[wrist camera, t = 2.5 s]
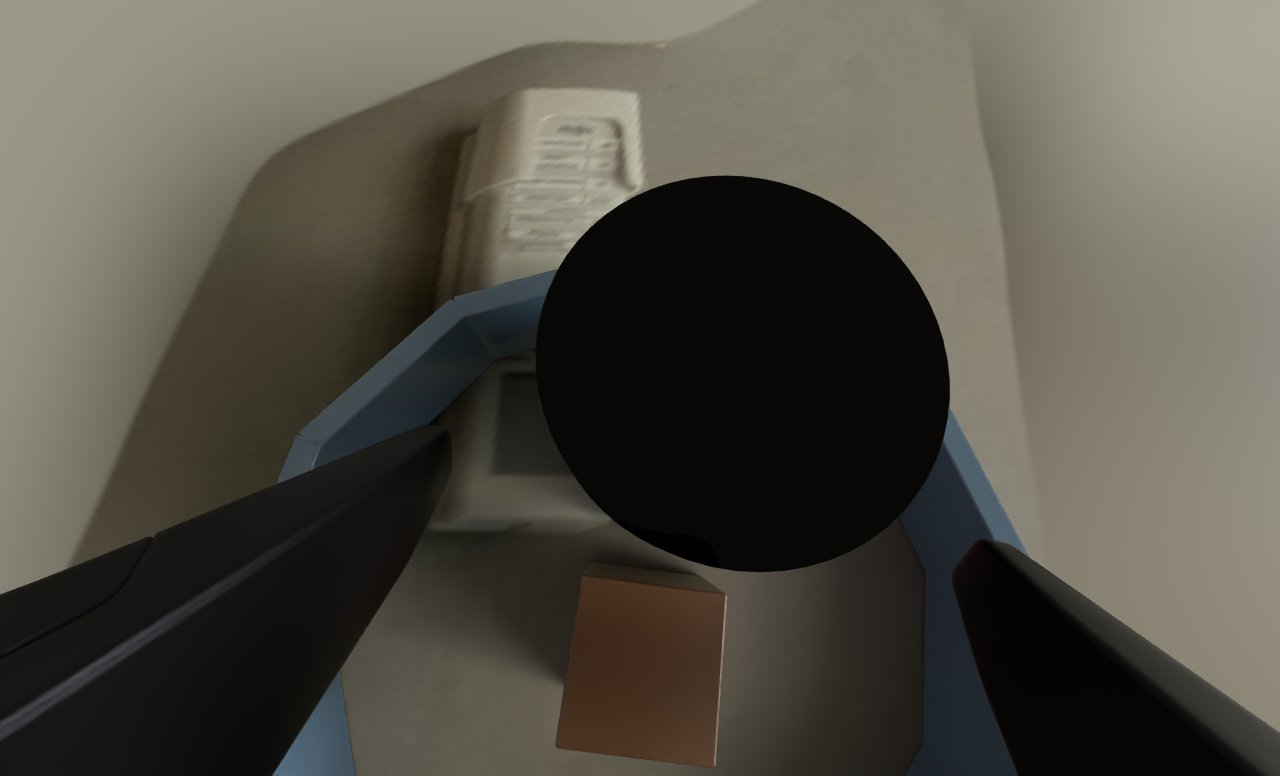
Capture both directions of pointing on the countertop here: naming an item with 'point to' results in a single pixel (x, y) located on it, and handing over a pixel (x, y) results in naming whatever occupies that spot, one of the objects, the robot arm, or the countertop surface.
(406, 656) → the countertop surface
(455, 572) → the countertop surface
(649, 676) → the walnut block
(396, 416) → the blue polygonal ring
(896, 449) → the supplement container
